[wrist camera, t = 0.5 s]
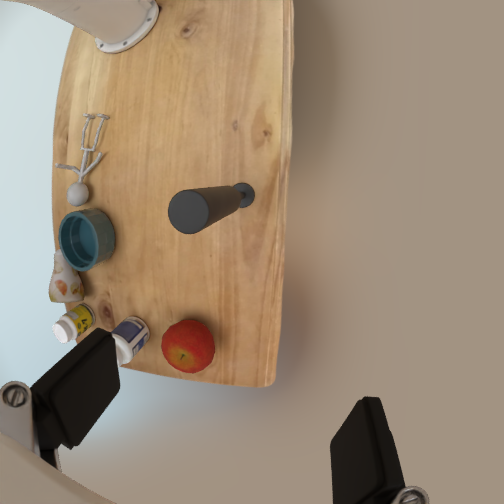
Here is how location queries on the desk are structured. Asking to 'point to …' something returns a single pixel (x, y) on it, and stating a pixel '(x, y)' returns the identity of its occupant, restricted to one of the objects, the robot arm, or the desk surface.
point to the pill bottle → (129, 338)
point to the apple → (188, 346)
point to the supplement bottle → (74, 323)
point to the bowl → (86, 238)
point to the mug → (65, 282)
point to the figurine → (83, 168)
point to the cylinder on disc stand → (207, 206)
